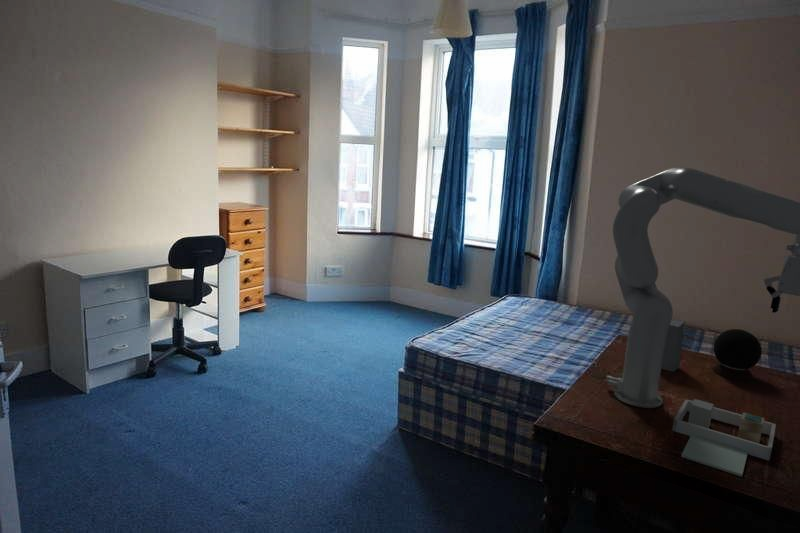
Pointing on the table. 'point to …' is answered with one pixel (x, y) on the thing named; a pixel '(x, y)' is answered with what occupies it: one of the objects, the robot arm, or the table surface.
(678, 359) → the skincare box
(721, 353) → the dark rounded object
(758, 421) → the labelled block
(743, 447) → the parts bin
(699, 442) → the mat
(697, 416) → the plain block
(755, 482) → the table surface
